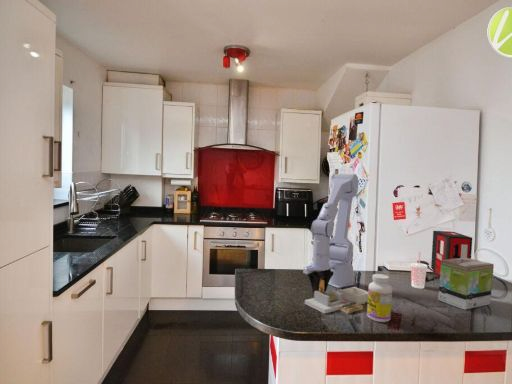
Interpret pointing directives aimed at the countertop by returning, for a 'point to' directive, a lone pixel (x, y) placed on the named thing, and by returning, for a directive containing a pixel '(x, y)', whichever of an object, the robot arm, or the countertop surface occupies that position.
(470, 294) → the tea box
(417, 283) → the beverage cup
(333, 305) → the white compartment tray
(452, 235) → the cleaning product box
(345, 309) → the trough
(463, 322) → the countertop surface
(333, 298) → the pad
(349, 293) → the white square open box
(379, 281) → the supplement bottle
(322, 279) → the cell
